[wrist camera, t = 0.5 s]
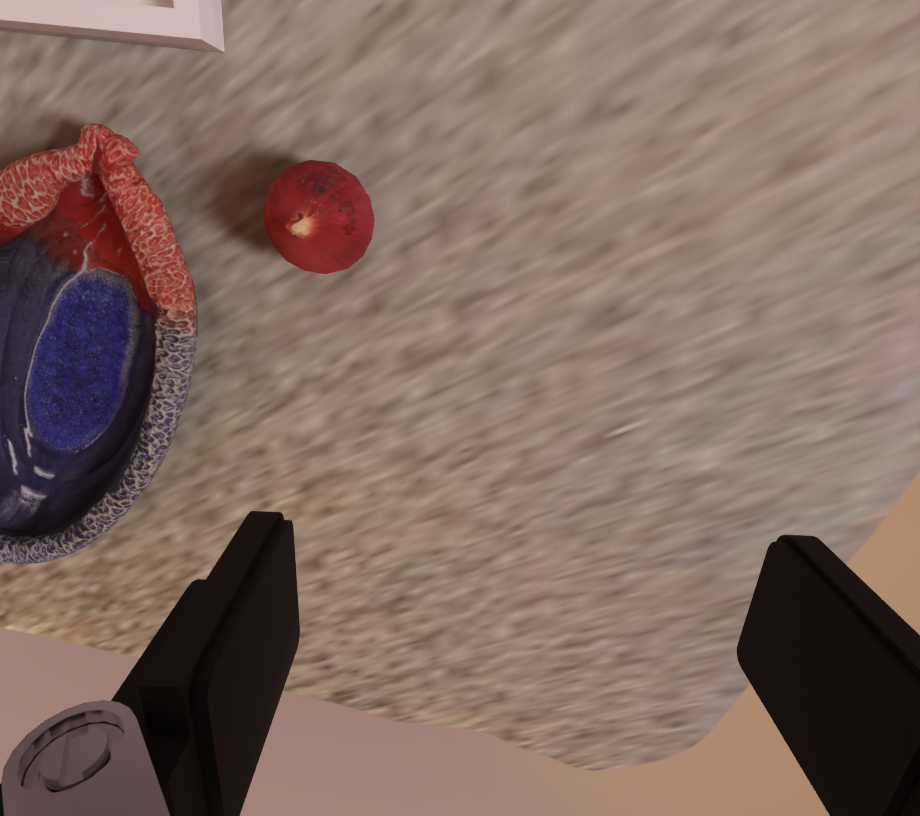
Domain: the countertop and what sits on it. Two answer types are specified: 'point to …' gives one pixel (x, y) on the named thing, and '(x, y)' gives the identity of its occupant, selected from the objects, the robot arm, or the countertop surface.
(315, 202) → the onion
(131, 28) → the tray
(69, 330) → the dish
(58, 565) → the countertop surface
